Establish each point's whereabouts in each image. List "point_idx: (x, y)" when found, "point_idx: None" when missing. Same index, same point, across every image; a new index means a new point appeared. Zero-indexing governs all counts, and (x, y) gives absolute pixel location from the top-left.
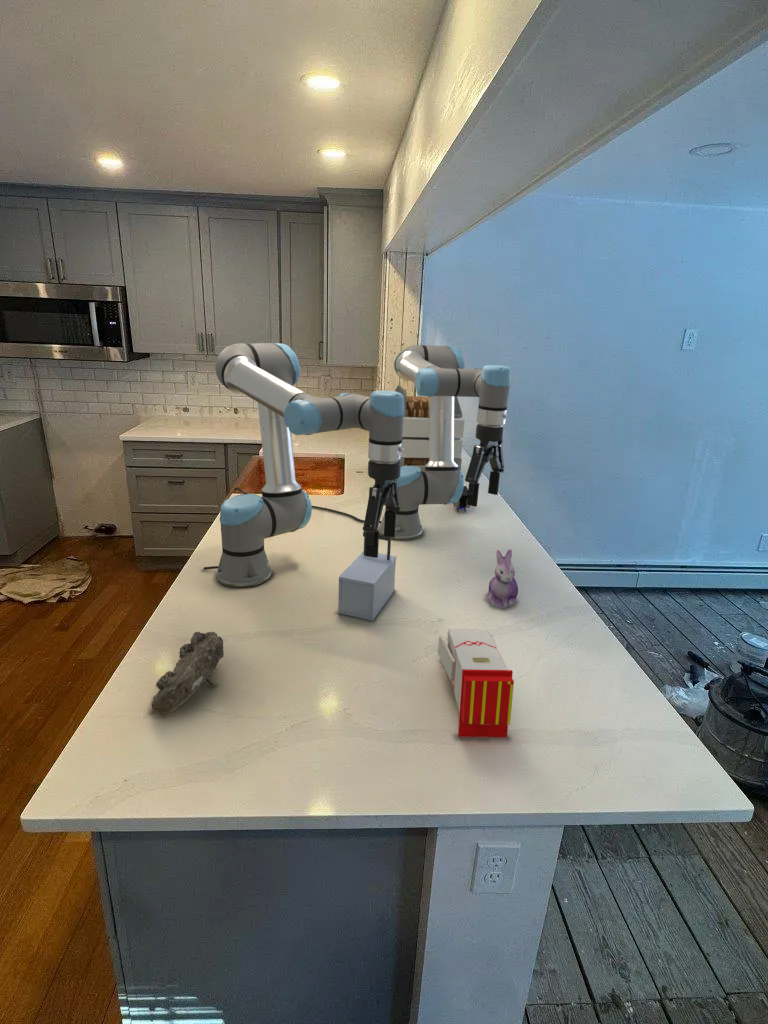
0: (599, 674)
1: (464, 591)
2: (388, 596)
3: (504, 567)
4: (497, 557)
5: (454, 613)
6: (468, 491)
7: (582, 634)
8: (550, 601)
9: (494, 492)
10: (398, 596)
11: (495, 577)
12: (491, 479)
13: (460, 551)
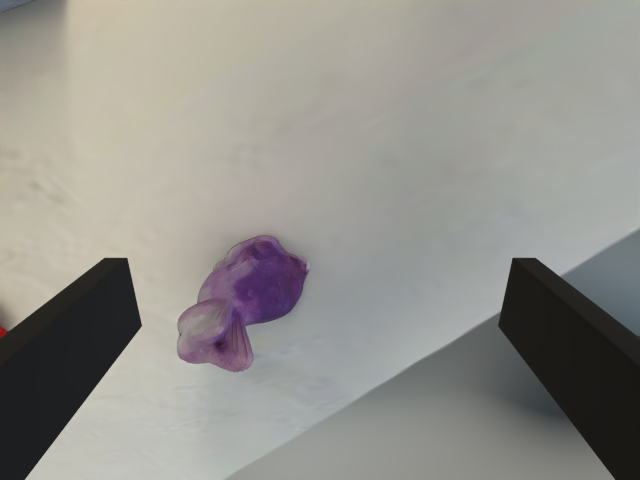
0: (145, 469)
1: (235, 175)
2: (8, 5)
3: (182, 352)
4: (193, 332)
5: (113, 209)
6: (19, 329)
7: (244, 426)
8: (333, 351)
9: (509, 319)
10: (55, 25)
11: (230, 285)
12: (597, 359)
13: (510, 11)
